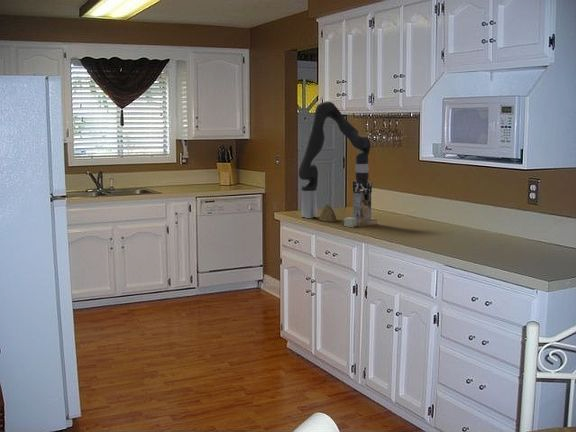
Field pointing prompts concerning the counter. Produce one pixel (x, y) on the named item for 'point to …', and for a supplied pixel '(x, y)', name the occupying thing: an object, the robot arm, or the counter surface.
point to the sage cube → (350, 222)
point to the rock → (327, 214)
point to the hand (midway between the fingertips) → (362, 199)
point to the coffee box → (361, 206)
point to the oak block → (367, 222)
